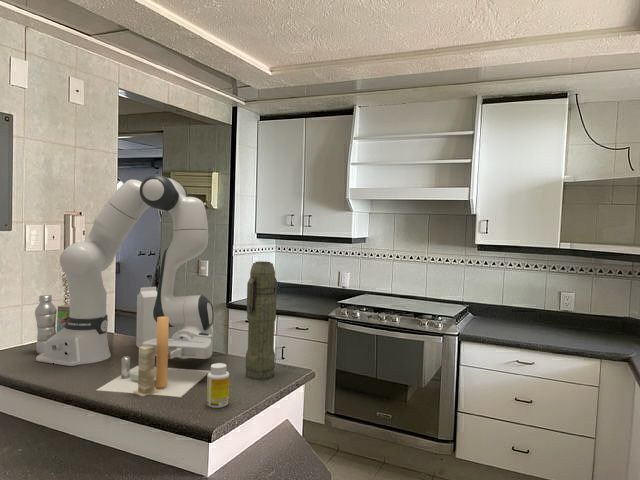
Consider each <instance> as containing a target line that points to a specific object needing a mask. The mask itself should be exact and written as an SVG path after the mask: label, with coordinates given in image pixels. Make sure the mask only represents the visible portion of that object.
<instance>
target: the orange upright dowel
mask: <svg viewBox="0 0 640 480" xmlns="http://www.w3.org/2000/svg"><path fill="white" fill-rule="evenodd" d="M168 326H169V317H166V316H162V317H157V356H156V357H155V367H156V377H155V378H154V386H157V387H165V386H167V376H168V368H169V367H168V364H169V362H168V361H169V358H168V338H169V327H168ZM130 379H132V380H136V381H138V372H132V373H130Z"/></svg>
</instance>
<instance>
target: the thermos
mask: <svg viewBox="0 0 640 480" xmlns="http://www.w3.org/2000/svg"><path fill="white" fill-rule="evenodd" d="M274 267H275V266H274V264H273V263H271V261H264V260H263V261H260V260H259V261H255V262H253V263H252V265H251V269H250V273H249V274H250V275H249V276H250V277H249V279H248V281H247V286H246V288H247V289H246V290H247V291H246V315H247V316H246V320H247V321H248V325H247V327H248V328H247V329H248V330H247V331H248V333H247V334H248V335H247V350H246V352H245V371H246V372H245V377H246V378H247V379H249V380H254V381H255V380H256V381H264V380H263V379H266V380H269V379H268V378H270V379H272V378H273V377H274V376H275V373H274V372H275V366H276V364H275V363H276V353H275V350H274V343H275V338H274V337H275V336H274V335H275V322H276V320H277V319H276V318H277V296H278V295H277V291H278V280H277V278H276V271H275V268H274ZM271 377H272V378H271Z"/></svg>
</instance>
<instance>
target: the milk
mask: <svg viewBox="0 0 640 480" xmlns="http://www.w3.org/2000/svg"><path fill="white" fill-rule="evenodd" d="M157 292H158V290H157V286H145V287H140V291H139V293H138V294H137V295H136V333H135V334H136V337H135V341H136V342H135V345H136V347H137V348H139V347H142V343H143V342H145V341H147V340H150V339H154V338H157V322H156V321H155V320H154V317H153V309H154V305H155V301H156V298H157Z"/></svg>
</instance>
